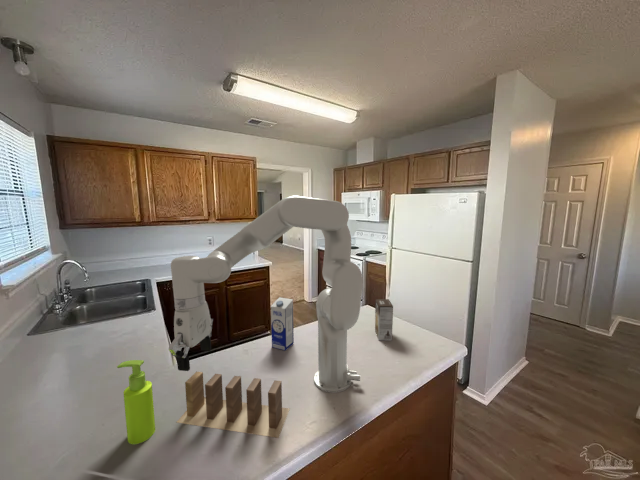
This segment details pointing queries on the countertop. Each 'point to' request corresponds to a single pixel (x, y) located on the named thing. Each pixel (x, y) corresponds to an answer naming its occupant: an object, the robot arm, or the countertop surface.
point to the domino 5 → (275, 404)
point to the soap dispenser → (138, 404)
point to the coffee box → (383, 319)
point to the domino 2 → (214, 396)
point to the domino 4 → (254, 401)
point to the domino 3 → (233, 398)
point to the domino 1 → (194, 393)
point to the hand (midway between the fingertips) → (195, 359)
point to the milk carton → (282, 323)
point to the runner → (236, 421)
